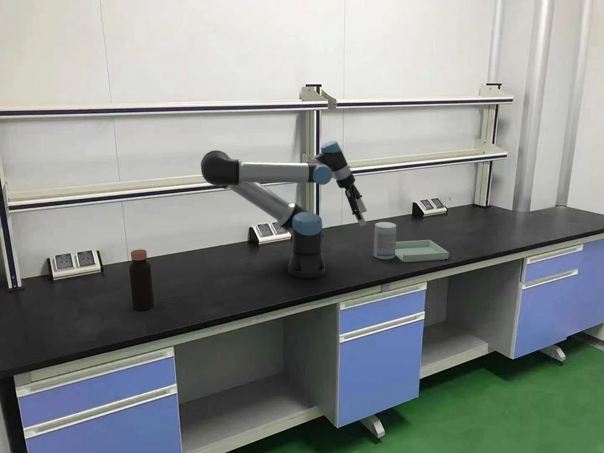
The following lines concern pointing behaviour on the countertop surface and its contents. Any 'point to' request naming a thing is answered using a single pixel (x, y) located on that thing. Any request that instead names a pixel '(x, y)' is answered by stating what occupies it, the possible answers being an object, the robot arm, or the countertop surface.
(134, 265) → the bottle
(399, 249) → the tray
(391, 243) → the supplement tub
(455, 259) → the countertop surface
